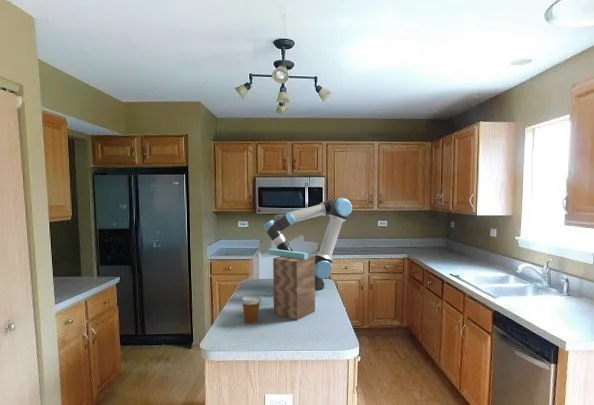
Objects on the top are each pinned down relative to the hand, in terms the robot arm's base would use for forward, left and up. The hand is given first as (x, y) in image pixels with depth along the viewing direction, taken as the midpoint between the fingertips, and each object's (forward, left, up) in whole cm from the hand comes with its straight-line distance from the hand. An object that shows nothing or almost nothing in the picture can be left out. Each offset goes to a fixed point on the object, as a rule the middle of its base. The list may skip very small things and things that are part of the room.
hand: (300, 271), depth 199 cm
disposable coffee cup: (+39, +21, -17) cm, 48 cm away
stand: (+14, +20, -17) cm, 30 cm away
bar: (+16, +16, +13) cm, 26 cm away
